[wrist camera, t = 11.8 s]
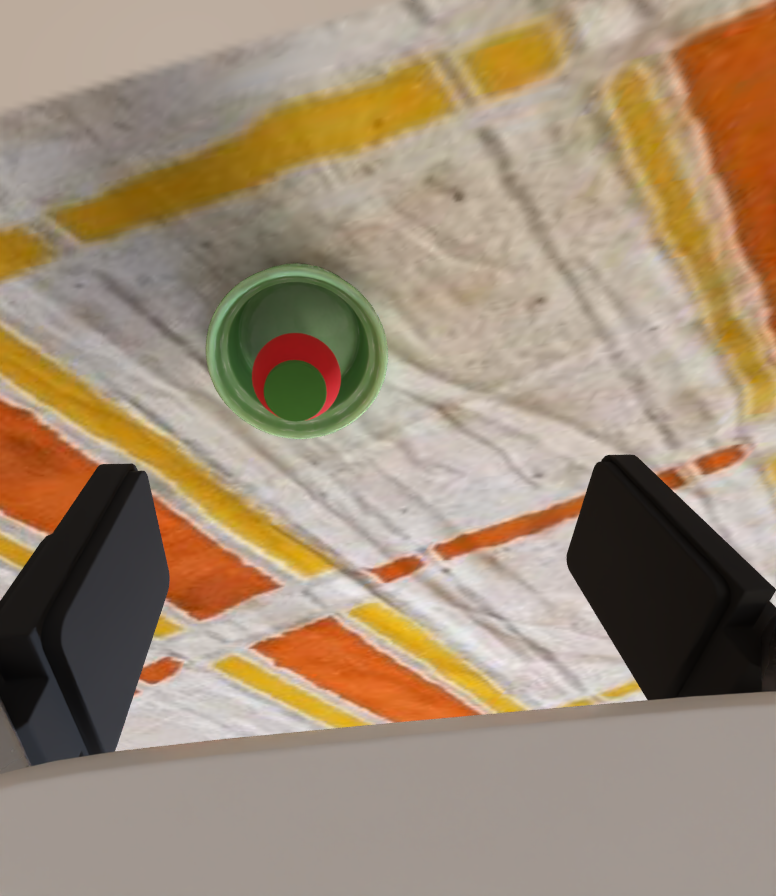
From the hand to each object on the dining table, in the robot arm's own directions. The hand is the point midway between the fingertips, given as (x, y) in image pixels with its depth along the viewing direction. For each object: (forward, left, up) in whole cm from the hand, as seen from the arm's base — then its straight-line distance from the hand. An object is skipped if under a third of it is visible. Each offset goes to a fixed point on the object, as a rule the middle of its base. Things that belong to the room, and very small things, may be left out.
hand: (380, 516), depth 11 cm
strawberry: (+2, -2, -16) cm, 16 cm away
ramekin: (+2, -2, -20) cm, 21 cm away
